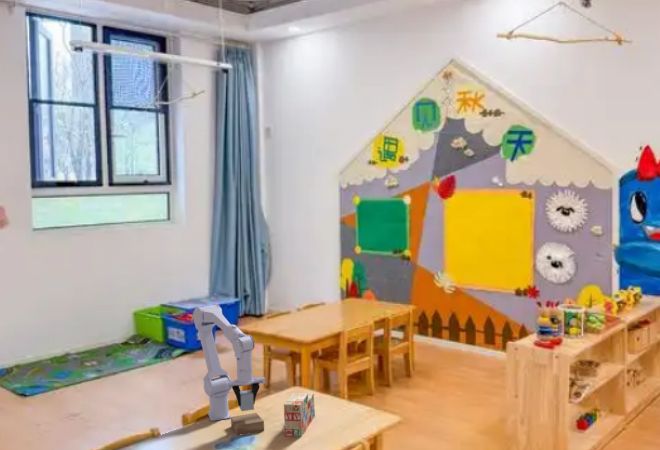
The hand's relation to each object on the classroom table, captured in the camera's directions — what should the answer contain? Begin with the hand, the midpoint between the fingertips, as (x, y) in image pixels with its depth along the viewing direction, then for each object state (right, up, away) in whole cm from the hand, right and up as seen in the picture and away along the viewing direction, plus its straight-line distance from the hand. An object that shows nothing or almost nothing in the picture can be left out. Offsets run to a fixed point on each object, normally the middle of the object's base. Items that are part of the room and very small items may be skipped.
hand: (246, 404), depth 252 cm
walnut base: (0, -10, +1) cm, 10 cm away
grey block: (0, -2, 0) cm, 2 cm away
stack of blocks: (+20, -9, +1) cm, 22 cm away
